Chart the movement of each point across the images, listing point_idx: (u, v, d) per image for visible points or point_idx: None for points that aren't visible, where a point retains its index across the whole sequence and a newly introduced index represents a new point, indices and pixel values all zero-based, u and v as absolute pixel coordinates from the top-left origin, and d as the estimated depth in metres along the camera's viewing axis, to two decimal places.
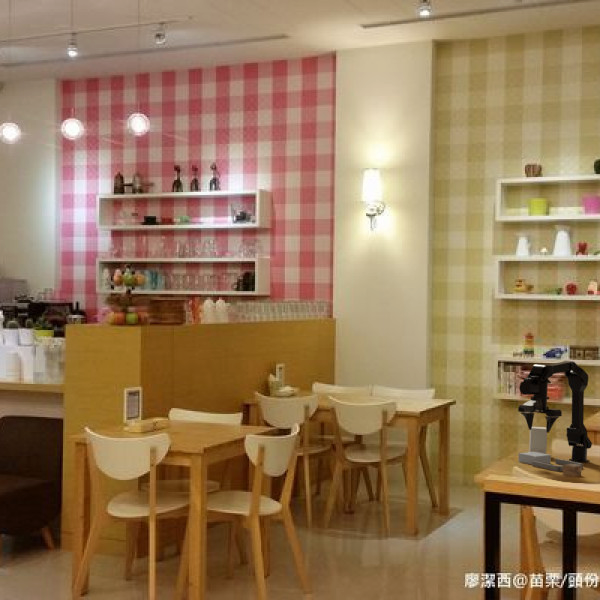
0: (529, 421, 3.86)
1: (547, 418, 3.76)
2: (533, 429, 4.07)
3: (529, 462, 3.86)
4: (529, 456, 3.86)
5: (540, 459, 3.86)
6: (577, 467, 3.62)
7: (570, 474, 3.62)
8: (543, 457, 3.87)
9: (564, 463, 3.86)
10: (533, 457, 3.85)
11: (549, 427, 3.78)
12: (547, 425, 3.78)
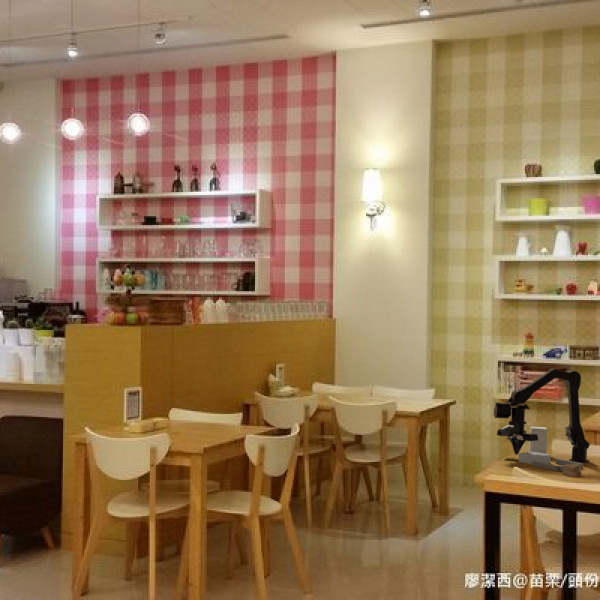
0: (515, 446, 3.98)
1: (516, 441, 3.96)
2: (533, 429, 4.07)
3: (530, 462, 3.86)
4: (530, 456, 3.86)
5: (540, 459, 3.86)
6: (577, 467, 3.62)
7: (570, 474, 3.62)
8: (543, 457, 3.87)
9: (564, 463, 3.86)
10: (534, 457, 3.85)
11: (518, 449, 3.98)
12: (516, 447, 3.97)
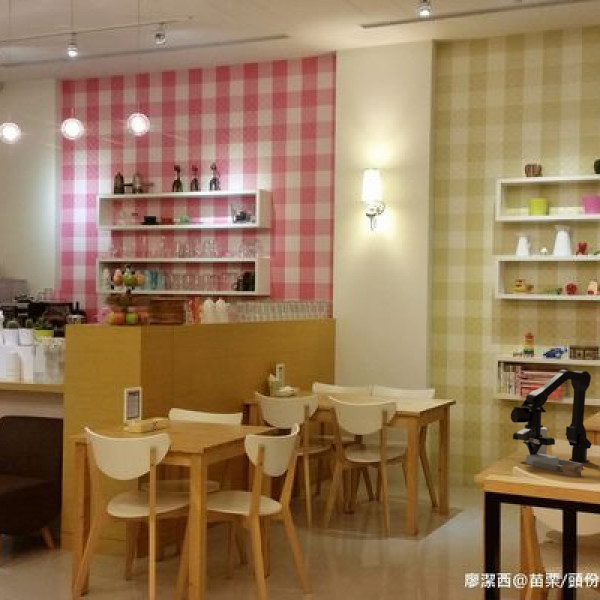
0: (531, 450, 3.91)
1: (532, 445, 3.88)
2: None
3: None
4: (537, 458, 3.82)
5: (547, 461, 3.81)
6: (577, 467, 3.62)
7: (570, 474, 3.62)
8: (551, 459, 3.82)
9: (564, 463, 3.86)
10: (540, 459, 3.80)
11: (534, 453, 3.90)
12: (532, 451, 3.90)
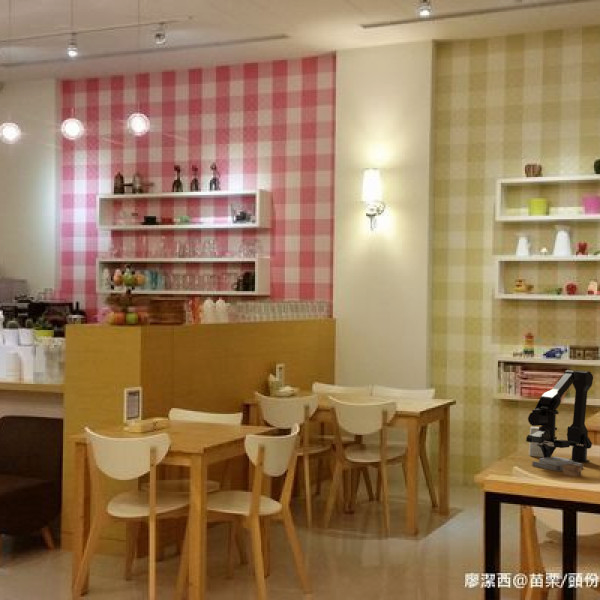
0: None
1: (547, 447, 3.82)
2: (533, 429, 4.07)
3: None
4: (549, 461, 3.76)
5: (561, 464, 3.75)
6: (577, 467, 3.62)
7: (570, 474, 3.62)
8: (564, 462, 3.76)
9: None
10: (553, 462, 3.74)
11: (548, 456, 3.84)
12: (547, 454, 3.84)
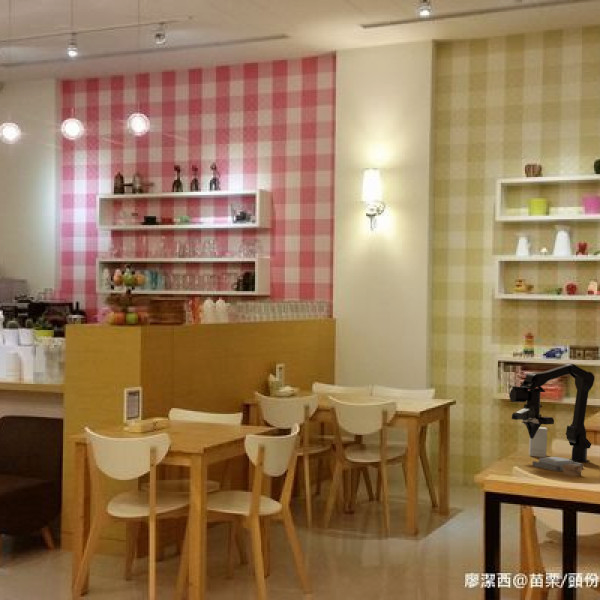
0: (530, 430, 3.92)
1: (531, 424, 3.90)
2: None
3: None
4: (549, 461, 3.76)
5: (561, 464, 3.75)
6: (577, 467, 3.62)
7: (570, 474, 3.62)
8: (564, 462, 3.76)
9: None
10: (553, 462, 3.74)
11: (533, 433, 3.91)
12: (531, 431, 3.91)
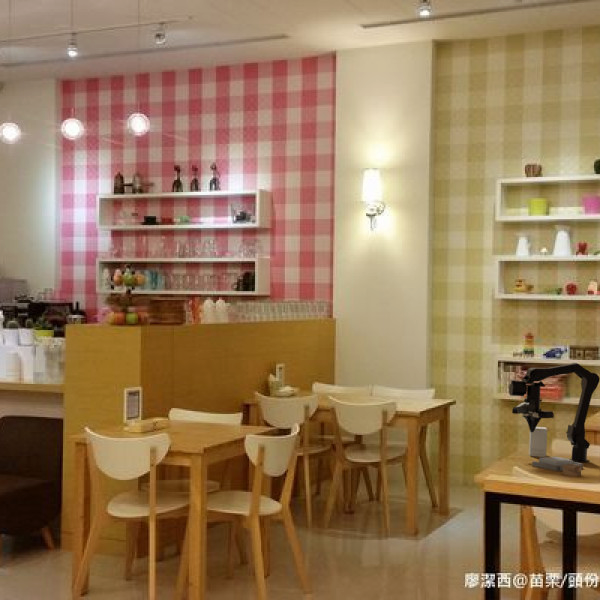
0: None
1: (531, 418, 3.95)
2: None
3: None
4: (549, 461, 3.76)
5: (560, 464, 3.75)
6: (577, 467, 3.62)
7: (570, 474, 3.62)
8: (564, 462, 3.76)
9: None
10: (553, 462, 3.74)
11: (533, 427, 3.97)
12: (532, 425, 3.97)
